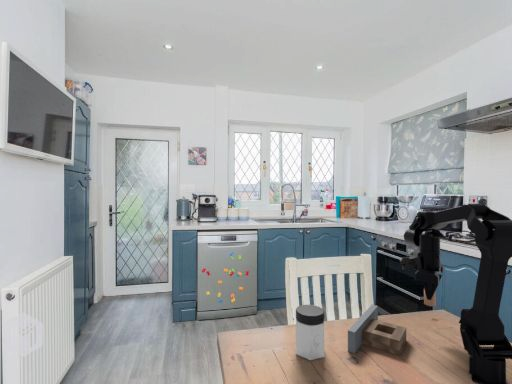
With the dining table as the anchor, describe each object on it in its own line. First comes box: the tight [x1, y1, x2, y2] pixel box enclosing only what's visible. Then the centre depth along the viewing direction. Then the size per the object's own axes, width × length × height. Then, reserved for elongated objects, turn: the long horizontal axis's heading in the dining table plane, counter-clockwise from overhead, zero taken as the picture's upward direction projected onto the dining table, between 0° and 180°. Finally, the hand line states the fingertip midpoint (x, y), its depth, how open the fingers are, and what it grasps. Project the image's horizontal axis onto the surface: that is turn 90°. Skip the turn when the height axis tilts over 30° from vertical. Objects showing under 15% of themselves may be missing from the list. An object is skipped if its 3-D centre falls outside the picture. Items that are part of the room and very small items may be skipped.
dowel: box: [423, 289, 437, 307], centre depth 90 cm, size 3×3×7 cm
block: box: [362, 319, 407, 356], centre depth 85 cm, size 10×10×4 cm
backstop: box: [347, 304, 379, 354], centre depth 89 cm, size 2×24×6 cm, turn 142°
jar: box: [295, 304, 326, 361], centre depth 80 cm, size 9×8×12 cm
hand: (429, 298), depth 90 cm, fingers closed on dowel, 3 cm apart
